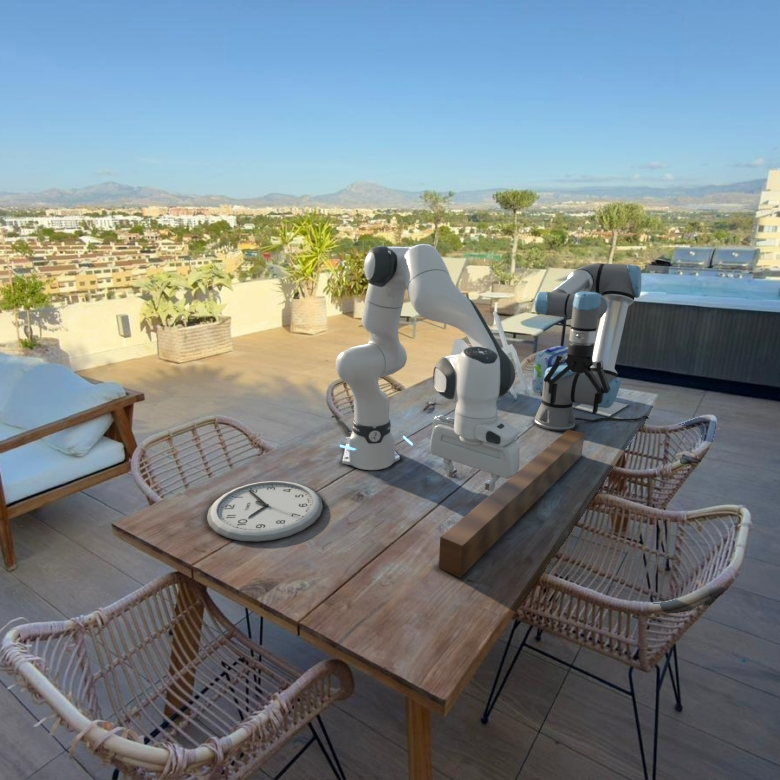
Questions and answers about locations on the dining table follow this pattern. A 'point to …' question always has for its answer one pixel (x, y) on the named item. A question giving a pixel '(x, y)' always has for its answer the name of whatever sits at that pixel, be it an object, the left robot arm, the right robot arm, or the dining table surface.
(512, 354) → the white plastic object
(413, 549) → the dining table surface
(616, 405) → the invitation card
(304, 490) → the wall clock
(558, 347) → the lunch box
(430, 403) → the fork
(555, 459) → the post
